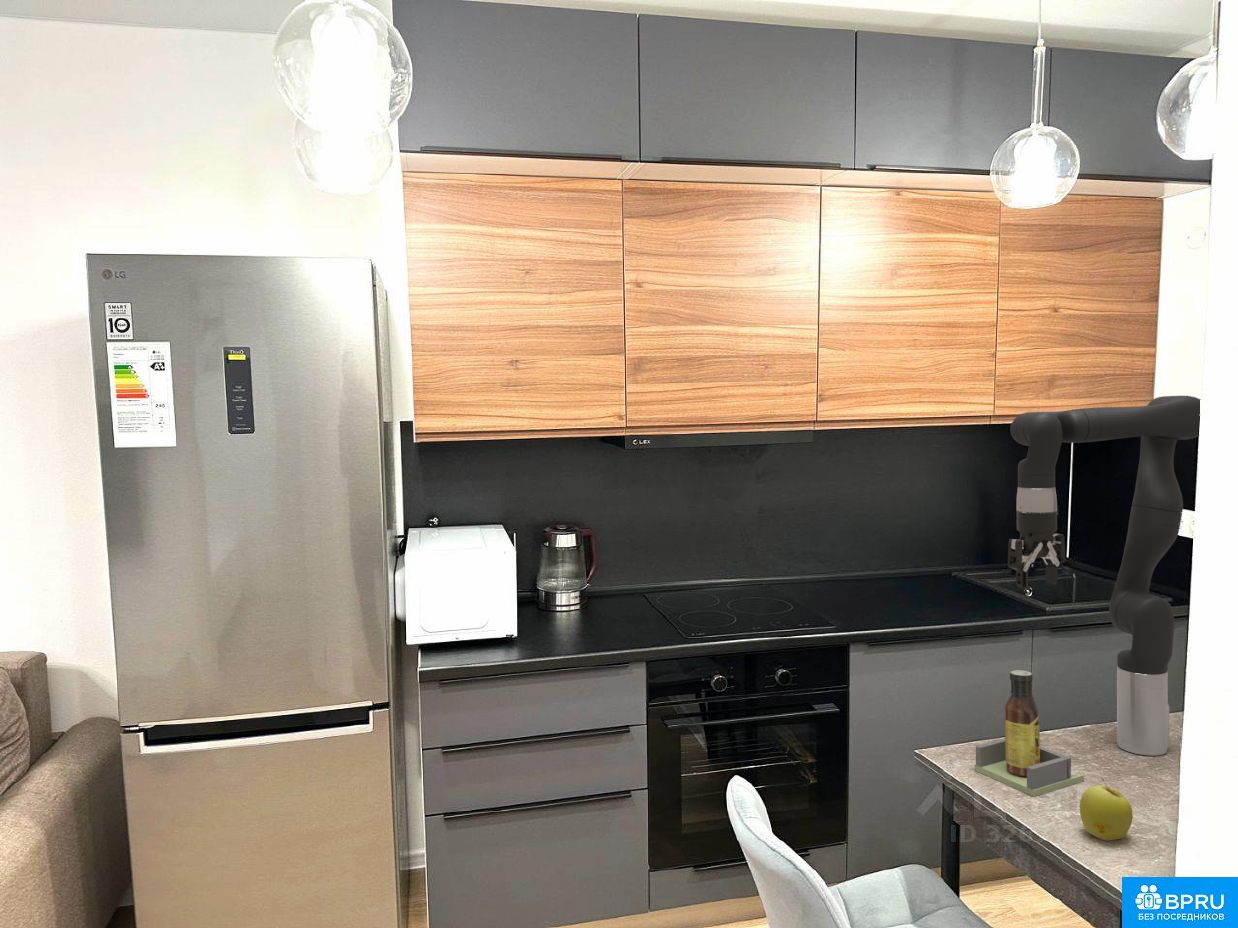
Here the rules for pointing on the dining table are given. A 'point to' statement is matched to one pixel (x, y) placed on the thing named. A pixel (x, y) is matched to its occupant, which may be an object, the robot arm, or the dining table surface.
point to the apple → (1105, 812)
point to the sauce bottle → (1021, 725)
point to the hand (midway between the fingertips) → (1036, 586)
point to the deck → (1039, 777)
